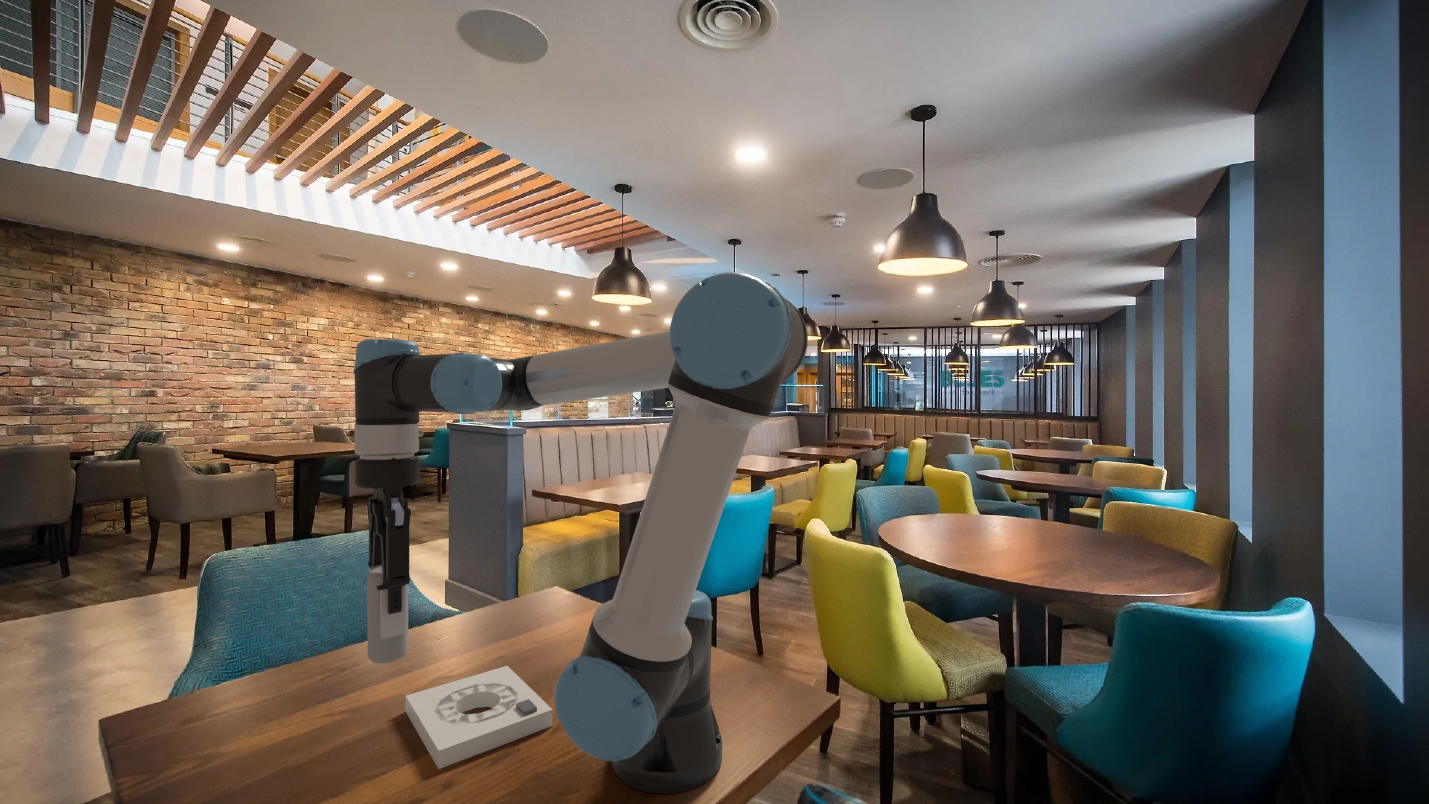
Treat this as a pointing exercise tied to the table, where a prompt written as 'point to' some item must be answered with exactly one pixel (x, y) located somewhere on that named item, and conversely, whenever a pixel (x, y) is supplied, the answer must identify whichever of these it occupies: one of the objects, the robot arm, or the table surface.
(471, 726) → the socket plate
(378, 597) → the beverage can
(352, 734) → the table surface
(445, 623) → the table surface
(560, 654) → the table surface
